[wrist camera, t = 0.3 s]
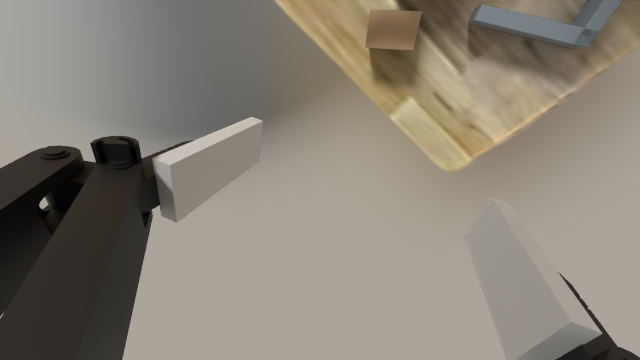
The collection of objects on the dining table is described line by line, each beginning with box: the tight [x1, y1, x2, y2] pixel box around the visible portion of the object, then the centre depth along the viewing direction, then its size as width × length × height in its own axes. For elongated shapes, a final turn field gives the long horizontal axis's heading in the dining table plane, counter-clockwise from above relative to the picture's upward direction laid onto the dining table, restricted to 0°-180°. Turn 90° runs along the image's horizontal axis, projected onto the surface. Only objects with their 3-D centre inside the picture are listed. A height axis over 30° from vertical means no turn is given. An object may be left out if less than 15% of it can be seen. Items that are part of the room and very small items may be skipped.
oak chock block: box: [365, 10, 422, 51], centre depth 31 cm, size 4×6×4 cm, turn 86°
